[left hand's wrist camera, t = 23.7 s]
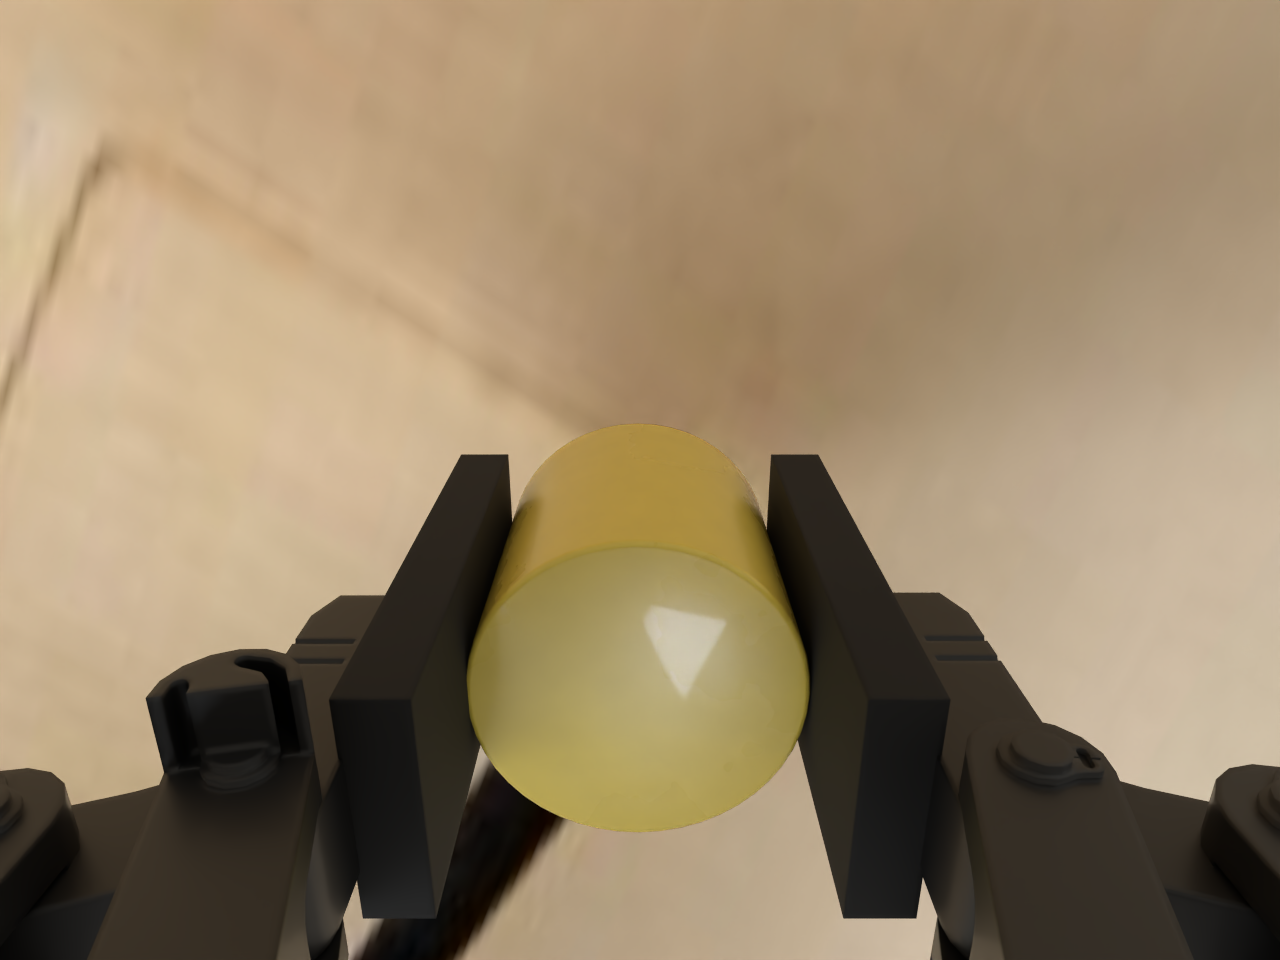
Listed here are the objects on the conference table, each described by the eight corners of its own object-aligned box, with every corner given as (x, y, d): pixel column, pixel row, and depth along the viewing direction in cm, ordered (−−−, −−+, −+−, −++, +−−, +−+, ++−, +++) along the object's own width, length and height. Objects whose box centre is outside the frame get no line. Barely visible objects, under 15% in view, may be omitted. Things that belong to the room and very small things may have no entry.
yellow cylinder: (812, 560, 15) (878, 723, 11) (618, 689, 16) (611, 884, 12) (660, 370, 14) (669, 470, 10) (461, 521, 15) (391, 672, 11)
